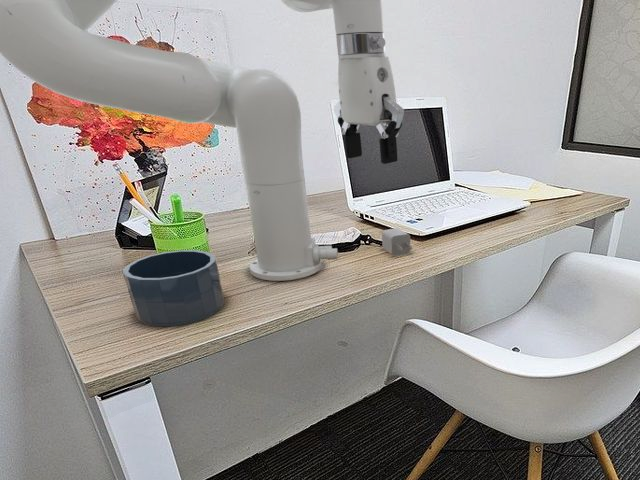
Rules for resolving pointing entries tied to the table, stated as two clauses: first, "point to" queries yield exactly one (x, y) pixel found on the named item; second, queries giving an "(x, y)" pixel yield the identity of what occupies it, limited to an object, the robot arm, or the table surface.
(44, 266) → the table surface
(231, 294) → the table surface
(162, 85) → the robot arm
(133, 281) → the pot
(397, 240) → the usb wall charger
